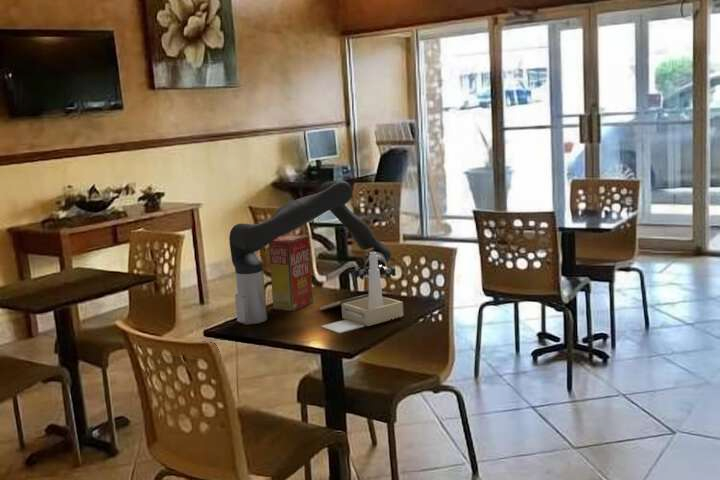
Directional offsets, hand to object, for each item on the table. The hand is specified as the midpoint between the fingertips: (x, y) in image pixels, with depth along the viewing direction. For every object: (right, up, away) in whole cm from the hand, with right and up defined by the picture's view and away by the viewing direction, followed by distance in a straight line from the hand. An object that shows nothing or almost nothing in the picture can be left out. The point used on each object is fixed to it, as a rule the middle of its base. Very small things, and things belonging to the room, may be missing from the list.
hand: (374, 276), depth 266 cm
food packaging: (-29, -11, +14) cm, 34 cm away
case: (-1, -13, -7) cm, 15 cm away
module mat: (-11, -16, -16) cm, 25 cm away
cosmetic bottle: (0, -13, -6) cm, 15 cm away
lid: (-10, -8, +4) cm, 14 cm away
